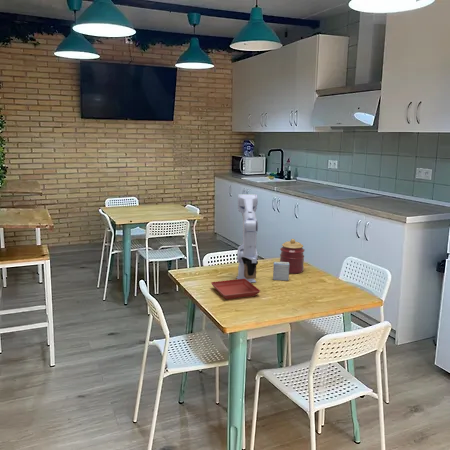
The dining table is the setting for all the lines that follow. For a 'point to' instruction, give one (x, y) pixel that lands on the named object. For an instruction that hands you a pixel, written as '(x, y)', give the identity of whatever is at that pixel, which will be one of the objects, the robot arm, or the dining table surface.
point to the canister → (293, 256)
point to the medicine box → (281, 271)
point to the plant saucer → (235, 288)
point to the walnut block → (247, 273)
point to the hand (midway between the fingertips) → (249, 273)
